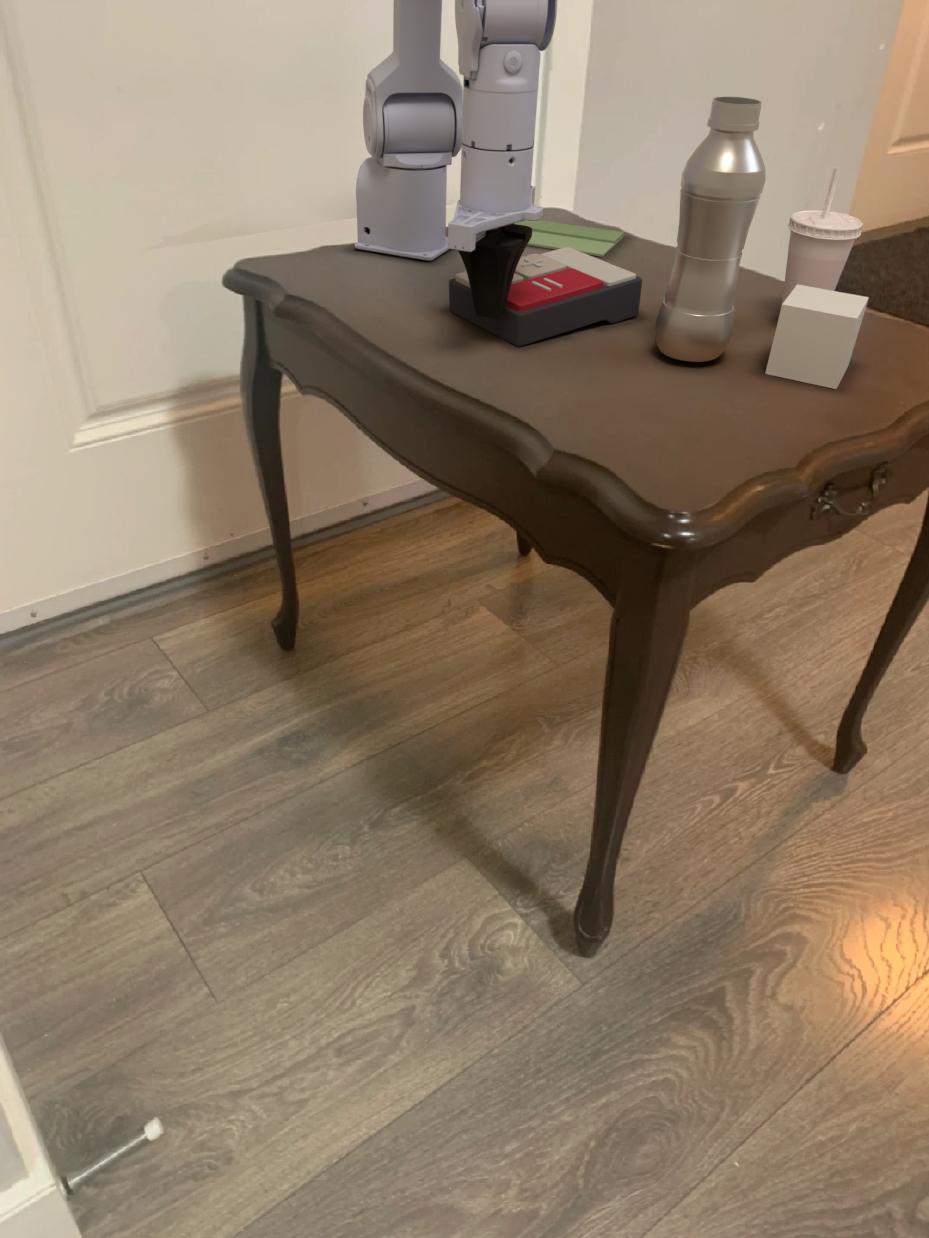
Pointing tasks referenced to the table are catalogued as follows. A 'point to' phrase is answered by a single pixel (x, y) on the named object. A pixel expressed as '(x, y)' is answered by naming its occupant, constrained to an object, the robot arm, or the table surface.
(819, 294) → the off-white cube
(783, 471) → the table surface
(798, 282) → the smoothie
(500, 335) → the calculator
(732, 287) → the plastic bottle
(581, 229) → the cloth
